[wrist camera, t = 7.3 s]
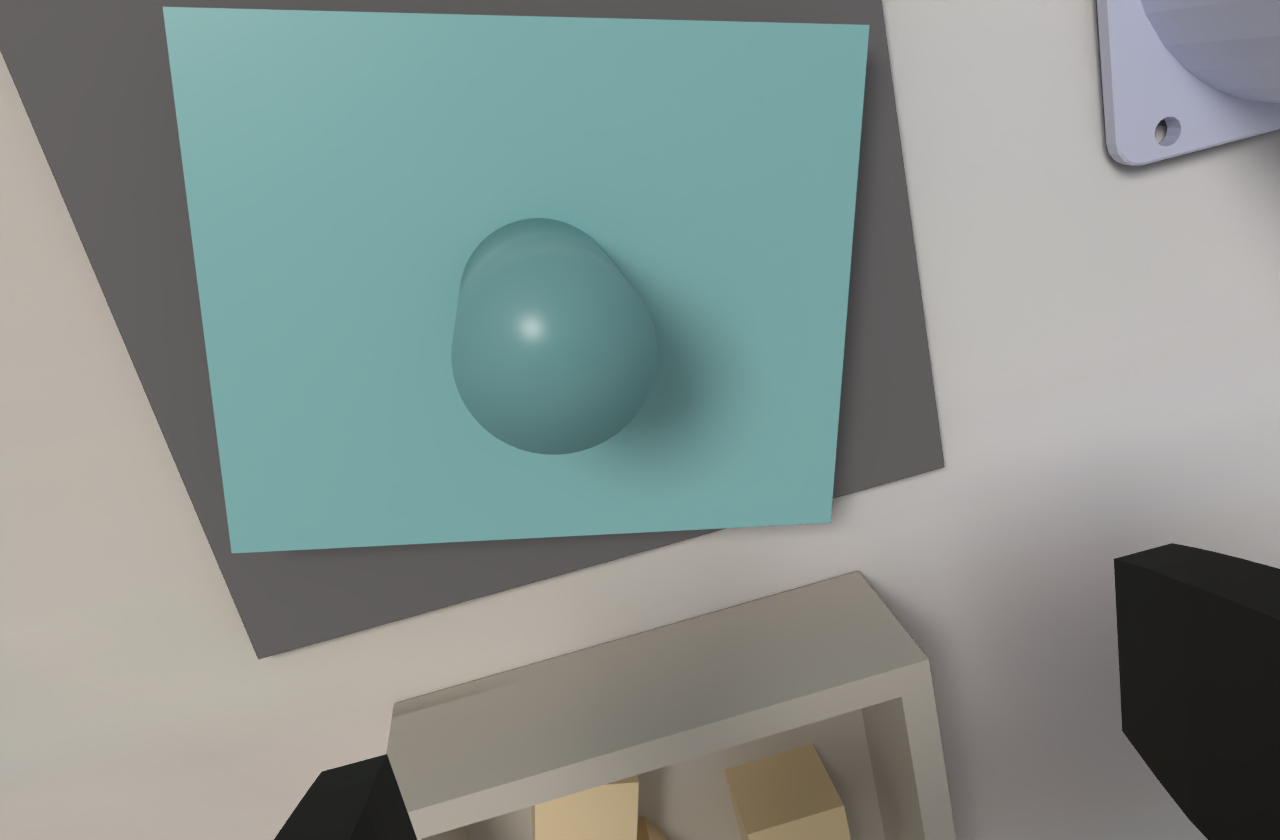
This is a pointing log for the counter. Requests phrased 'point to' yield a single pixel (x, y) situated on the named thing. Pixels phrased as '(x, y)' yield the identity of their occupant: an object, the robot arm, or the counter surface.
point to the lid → (518, 269)
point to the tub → (693, 734)
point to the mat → (173, 330)
